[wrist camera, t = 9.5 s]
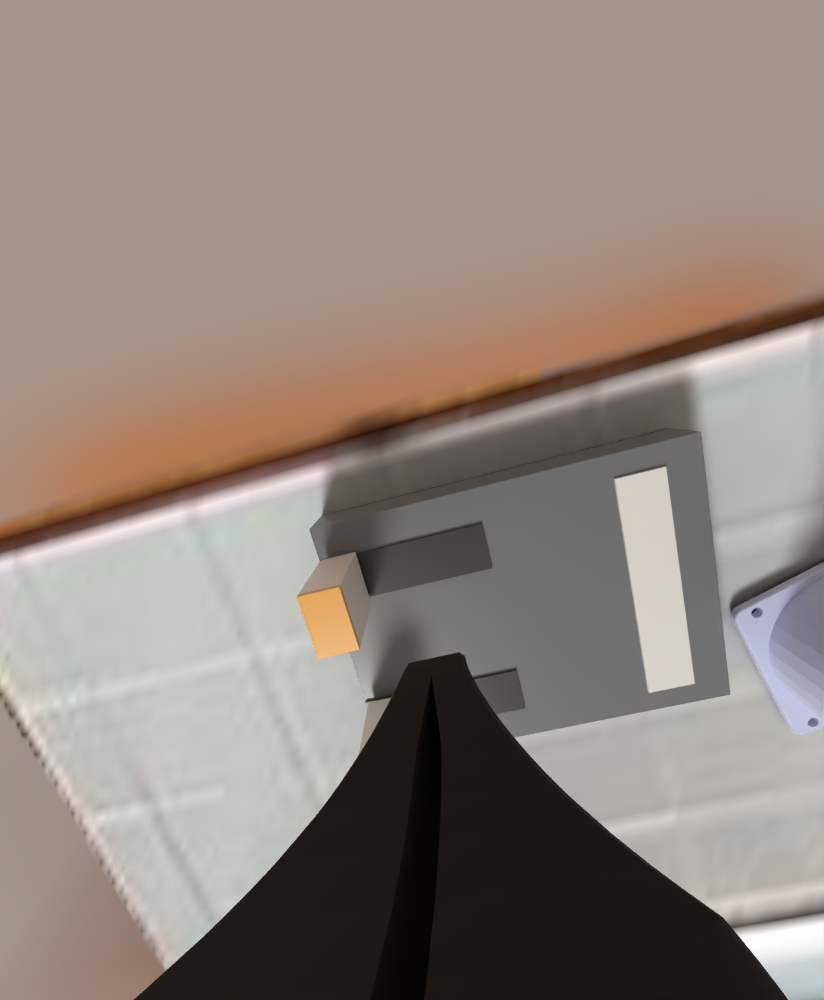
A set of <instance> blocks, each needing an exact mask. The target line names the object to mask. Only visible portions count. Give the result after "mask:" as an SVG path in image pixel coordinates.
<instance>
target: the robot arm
mask: <svg viewBox="0 0 824 1000" xmlns="http://www.w3.org/2000/svg"><path fill="white" fill-rule="evenodd" d="M755 608H757V609H756V611H755V612H754V613H751V612H752V610H753V609H755ZM731 619H732V621H733V623H734V625H735V627H736V629H737V631H738V633H739V635H740V636H741V638H742V640H743V642H744V644H745V646H746V648H747V650H748V652H749V654H750V655H751V657H752V659H753V661H754V663H755V665H756V667H757V669H758V671H759V672H760V674H761V676H762V678H763V680H764V682H765V684H766V686H767V688H768V690H769V691H770V693H771V695H772V697H773V699H774V701H775V703H776V705H777V707H778V709H779V710H780V712H781V714H782V716H783V718H784V720H785V722H786V724H787V726H788V727H789V728H790V729H791V730H792V731H793V732H794V733H796V734H798V735H804V734H807V733H809V732H812V731H814V730H816V729H818V728H820V727H823V726H824V562H823V563H821V564H819V565H817V566H815V567H813V568H811V569H809V570H807V571H805V572H803V573H801V574H799V575H797V576H795V577H793V578H791V579H789V580H787V581H785V582H783V583H781V584H779V585H777V586H776V587H774V588H772V589H770V590H768V591H766V592H764V593H762V594H760V595H758V596H756V597H754V598H752V599H750V600H748V601H746V602H744V603H742V604H740V605H738V606H737V607H735V608H734V609H733V610H732V612H731ZM134 1000H788V999H787V997H786V996H785V995H784V993H783V992H782V991H781V989H780V988H779V987H778V985H777V984H776V983H775V982H774V980H773V979H772V978H771V976H770V975H769V974H768V972H767V971H766V970H765V969H764V967H763V966H762V965H761V963H760V962H759V961H758V960H757V958H756V957H755V956H754V955H753V953H752V952H751V951H750V950H749V948H748V947H747V946H746V945H745V944H744V942H743V941H742V940H741V939H740V937H739V936H738V935H737V934H736V933H735V931H734V930H733V929H732V928H731V927H730V925H729V924H728V923H727V922H726V921H725V919H724V918H723V917H721V916H720V915H719V914H717V913H716V912H715V911H713V910H712V909H710V908H709V907H707V906H706V905H705V904H703V903H702V902H700V901H699V900H698V899H696V898H695V897H693V896H692V895H691V894H689V893H688V892H686V891H685V890H684V889H682V888H681V887H679V886H678V885H677V884H675V883H674V882H673V881H671V880H670V879H669V878H667V877H666V876H665V875H663V874H662V873H661V872H659V871H658V870H657V869H655V868H654V867H653V866H651V865H650V864H649V863H647V862H646V861H645V860H644V859H642V858H641V857H640V856H639V855H637V854H636V853H635V852H634V851H632V850H631V849H630V848H629V847H627V846H626V845H625V844H624V843H622V842H621V841H620V840H619V839H618V838H616V837H615V836H614V835H613V834H611V833H610V832H609V831H608V830H607V829H606V828H605V827H603V826H602V825H601V824H600V823H599V822H598V821H597V820H596V819H594V818H593V817H592V816H591V815H590V814H589V813H588V812H587V811H585V810H584V809H583V808H582V807H581V806H580V805H579V804H578V803H576V802H575V801H574V800H573V799H572V798H571V797H570V796H569V795H567V794H566V793H565V792H564V791H563V790H562V789H561V788H560V787H559V786H558V785H557V784H556V783H555V782H554V781H553V780H552V779H551V778H550V777H549V776H548V775H547V774H546V773H545V772H544V771H543V770H542V768H541V767H540V766H539V765H538V764H537V763H536V762H535V761H534V760H533V759H532V758H531V757H530V755H529V754H528V753H527V752H526V751H525V750H524V749H523V748H522V746H521V745H520V744H519V743H518V742H517V740H516V739H515V738H514V737H513V735H512V734H511V733H510V732H509V730H508V729H507V728H506V727H505V725H504V724H503V723H502V721H501V720H500V719H499V717H498V716H497V715H496V713H495V712H494V710H493V709H492V707H491V706H490V705H489V703H488V702H487V700H486V699H485V697H484V696H483V694H482V692H481V691H480V689H479V688H478V686H477V684H476V682H475V680H474V678H473V677H472V675H471V673H470V670H469V668H468V665H467V661H466V658H465V655H463V654H461V653H460V652H457V653H453V654H448V655H444V656H439V657H434V658H430V659H425V660H420V661H416V662H411V663H408V665H407V666H406V668H405V670H404V672H403V674H402V676H401V678H400V680H399V683H398V685H397V687H396V689H395V691H394V693H393V695H392V697H391V699H390V701H389V703H388V705H387V707H386V708H385V710H384V712H383V714H382V716H381V718H380V720H379V721H378V723H377V725H376V727H375V729H374V730H373V732H372V734H371V736H370V737H369V739H368V741H367V742H366V744H365V746H364V747H363V749H362V750H361V752H360V754H359V755H358V757H357V759H356V760H355V762H354V763H353V765H352V767H351V768H350V770H349V771H348V773H347V774H346V776H345V777H344V779H343V780H342V781H341V783H340V784H339V786H338V787H337V789H336V790H335V791H334V793H333V794H332V795H331V797H330V798H329V800H328V801H327V802H326V804H325V805H324V806H323V808H322V809H321V810H320V811H319V813H318V814H317V815H316V817H315V818H314V819H313V820H312V821H311V822H310V824H309V825H308V826H307V827H306V828H305V830H304V831H303V832H302V833H301V834H300V835H299V837H298V838H297V839H296V840H295V841H294V842H293V844H292V845H291V846H290V847H289V848H288V849H287V851H286V852H285V853H284V854H283V855H282V857H281V858H280V859H279V860H278V861H277V862H276V863H275V865H274V866H273V867H272V868H271V869H270V870H269V871H268V872H267V873H266V874H265V875H264V876H263V877H262V878H261V880H260V881H259V882H258V883H257V884H256V885H255V886H254V887H253V888H252V889H251V890H250V891H249V892H248V893H247V894H246V895H245V896H244V897H243V898H242V899H241V900H240V901H239V902H238V903H237V904H236V905H235V906H234V907H233V908H232V909H231V910H230V911H229V912H228V913H227V914H226V915H225V916H224V917H223V918H222V919H221V920H220V921H219V922H218V923H217V924H216V925H215V926H214V927H213V928H212V929H211V930H210V931H209V932H208V933H207V934H206V935H205V936H204V937H203V938H202V939H201V940H199V941H198V942H197V943H196V944H195V945H194V946H193V947H192V948H191V949H190V950H188V951H187V952H186V953H185V954H184V955H183V956H182V957H181V958H180V959H178V960H177V961H176V962H175V963H174V964H173V965H172V966H171V967H170V968H169V969H167V970H166V971H165V972H164V973H163V974H162V975H161V976H160V977H159V978H158V979H156V980H155V981H154V982H153V983H152V984H151V985H150V986H149V987H148V988H147V989H145V990H144V991H143V992H142V993H141V994H140V995H139V996H137V998H135V999H134Z"/></svg>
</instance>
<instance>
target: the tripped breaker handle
mask: <svg viewBox="0 0 824 1000" xmlns="http://www.w3.org/2000/svg"><path fill="white" fill-rule="evenodd" d="M297 599H298V602H299V605H300V608H301V611H302V614H303V616H304V619H305V622H306V625H307V628H308V631H309V634H310V637H311V639H312V642H313V645H314V648H315V651H316V654H317V657H318V659H320V658H324V657H329V656H333V655H338V654H342V653H347V652H351V651H356V650H360V646H361V642H362V638H363V634H364V630H365V627H366V623H367V619H368V615H369V611H370V607H371V601H370V598H369V595H368V591H367V588H366V585H365V582H364V578H363V575H362V572H361V569H360V565H359V562H358V559H357V556H356V552H353V553H349V554H345V555H341V556H337V557H333V558H328V559H324V560H321V561H320V562H319V564H318V565H317V567H316V568H315V570H314V572H313V573H312V575H311V576H310V578H309V579H308V581H307V582H306V584H305V585H304V587H303V588H302V590H301V591H300V593H299V594H298V596H297Z"/></svg>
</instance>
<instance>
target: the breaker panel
mask: <svg viewBox="0 0 824 1000" xmlns="http://www.w3.org/2000/svg"><path fill="white" fill-rule="evenodd" d="M309 530H310V533H311V536H312V539H313V542H314V545H315V548H316V551H317V554H318V557H319V560H320V561H321V560H324V559H328V558H333V557H337V556H341V555H345V554H349V553H353V552H356V556H357V559H358V562H359V565H360V569H361V572H362V575H363V578H364V582H365V585H366V588H367V591H368V595H369V598H370V601H371V607H370V611H369V615H368V619H367V623H366V627H365V630H364V634H363V638H362V642H361V646H360V650H356V651H351V652H350V655H351V658H352V661H353V664H354V667H355V670H356V673H357V676H358V679H359V682H360V685H361V688H362V691H363V694H364V697H365V700H366V702H365V703H366V706H367V709H368V703H369V702H373V701H377V700H382V699H387V698H391V697H392V695H393V693H394V691H395V689H396V687H397V685H398V683H399V680H400V678H401V676H402V674H403V672H404V670H405V668H406V666H407V665H408V663H411V662H416V661H420V660H425V659H430V658H434V657H439V656H444V655H448V654H453V653H457V652H460V653H461V654H463V655H465V658H466V661H467V665H468V668H469V670H470V673H471V675H472V677H473V678H474V680H475V682H476V684H477V686H478V688H479V689H480V691H481V692H482V694H483V696H484V697H485V699H486V700H487V702H488V703H489V705H490V706H491V707H492V709H493V710H494V712H495V713H496V715H497V716H498V717H499V719H500V720H501V721H502V723H503V724H504V725H505V727H506V728H507V729H508V730H509V732H510V733H511V734H512V735H513V737H519V736H524V735H529V734H534V733H539V732H544V731H549V730H554V729H559V728H564V727H569V726H574V725H579V724H584V723H589V722H594V721H599V720H604V719H609V718H614V717H619V716H624V715H629V714H634V713H639V712H644V711H649V710H654V709H659V708H664V707H670V706H675V705H680V704H685V703H690V702H695V701H700V700H705V699H710V698H715V697H720V696H725V695H730V687H729V678H728V669H727V660H726V652H725V643H724V634H723V625H722V616H721V607H720V598H719V589H718V580H717V571H716V563H715V554H714V545H713V536H712V527H711V518H710V509H709V500H708V491H707V483H706V474H705V465H704V456H703V447H702V438H701V432H698V431H688V430H678V429H665V430H661V431H657V432H653V433H649V434H645V435H641V436H637V437H633V438H629V439H625V440H621V441H617V442H613V443H609V444H605V445H601V446H597V447H593V448H589V449H585V450H581V451H577V452H573V453H569V454H565V455H561V456H557V457H553V458H549V459H545V460H541V461H538V462H534V463H530V464H526V465H522V466H518V467H514V468H510V469H506V470H502V471H498V472H494V473H490V474H486V475H482V476H478V477H474V478H470V479H466V480H462V481H458V482H454V483H450V484H446V485H442V486H438V487H434V488H430V489H426V490H422V491H418V492H414V493H410V494H407V495H403V496H399V497H395V498H391V499H387V500H383V501H379V502H375V503H371V504H367V505H363V506H359V507H355V508H351V509H347V510H343V511H339V512H335V513H331V514H327V515H323V516H321V517H320V518H319V519H318V521H317V522H316V523H315V524H314V525H313V526H312V527H311V528H310V529H309Z"/></svg>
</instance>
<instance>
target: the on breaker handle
mask: <svg viewBox="0 0 824 1000" xmlns="http://www.w3.org/2000/svg"><path fill="white" fill-rule="evenodd" d="M390 699H391V698H387V699H382V700H377V701H373V702H369V703H368V709H367V714H366V720H365V725H364V731H363V736H362V742H361V747H360V752H361V750H362V749H363V747H364V746H365V744H366V742H367V741H368V739H369V737H370V736H371V734H372V732H373V730H374V729H375V727H376V725H377V723H378V721H379V720H380V718H381V716H382V714H383V712H384V710H385V708H386V707H387V705H388V703H389V701H390ZM359 754H360V753H359Z"/></svg>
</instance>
